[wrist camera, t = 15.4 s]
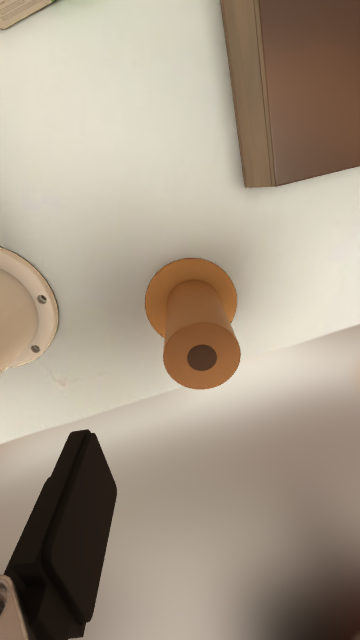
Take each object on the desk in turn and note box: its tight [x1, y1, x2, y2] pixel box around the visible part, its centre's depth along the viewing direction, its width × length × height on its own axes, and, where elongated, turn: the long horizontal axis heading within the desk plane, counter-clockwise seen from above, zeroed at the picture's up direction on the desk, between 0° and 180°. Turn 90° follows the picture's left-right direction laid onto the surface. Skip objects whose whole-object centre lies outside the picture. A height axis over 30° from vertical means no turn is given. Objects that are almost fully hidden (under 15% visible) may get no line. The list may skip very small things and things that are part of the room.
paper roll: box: [163, 280, 241, 389], centre depth 25 cm, size 5×5×10 cm
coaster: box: [145, 258, 237, 338], centre depth 29 cm, size 9×9×1 cm
